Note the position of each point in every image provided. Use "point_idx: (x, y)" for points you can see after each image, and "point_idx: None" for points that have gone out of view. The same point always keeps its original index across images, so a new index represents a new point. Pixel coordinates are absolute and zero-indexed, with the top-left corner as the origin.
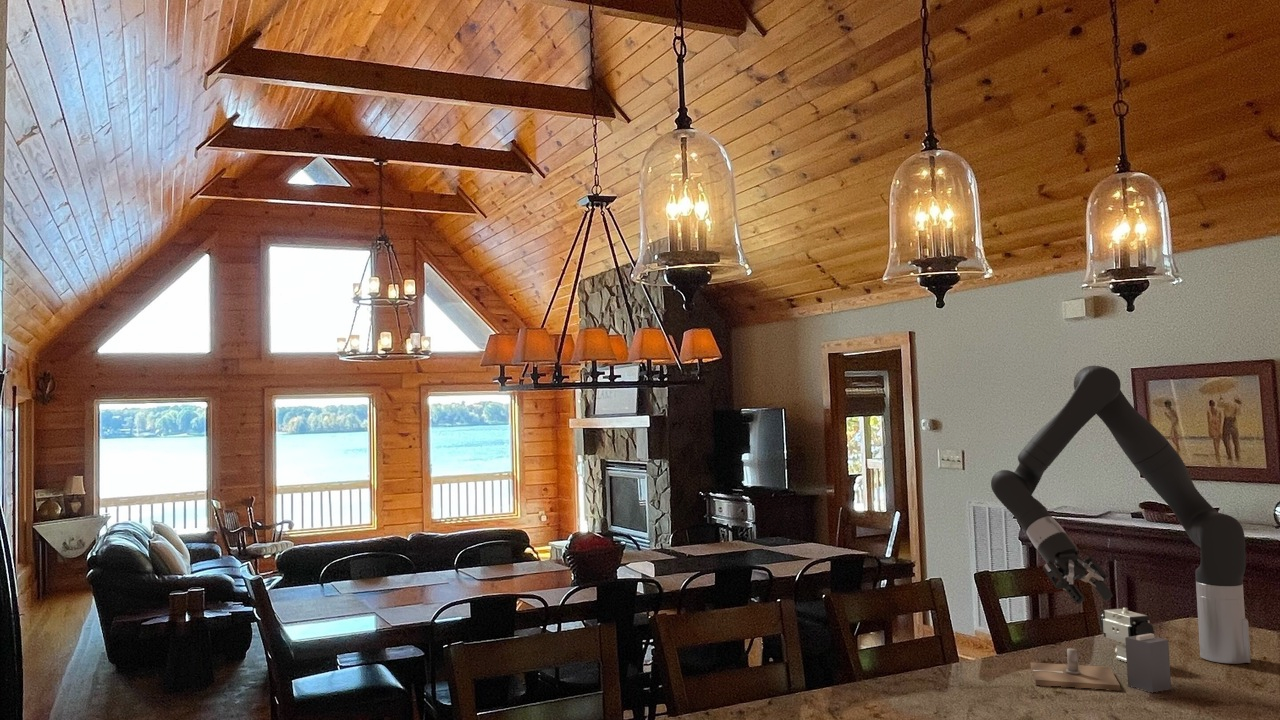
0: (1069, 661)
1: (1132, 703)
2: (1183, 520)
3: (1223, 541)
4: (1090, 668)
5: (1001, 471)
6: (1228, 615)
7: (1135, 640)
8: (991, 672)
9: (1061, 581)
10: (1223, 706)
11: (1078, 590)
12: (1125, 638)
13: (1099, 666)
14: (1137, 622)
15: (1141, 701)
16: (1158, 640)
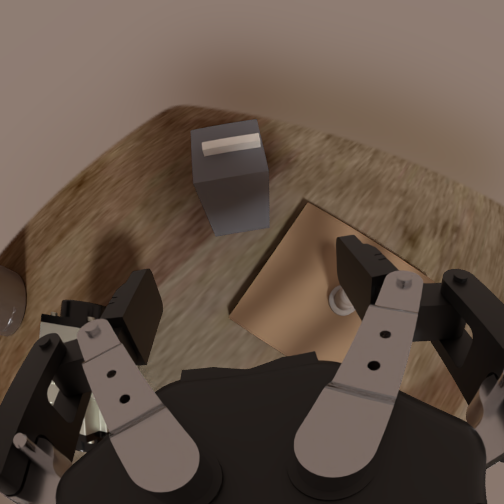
0: None
1: (331, 156)
2: None
3: None
4: (279, 321)
5: None
6: None
7: (263, 148)
8: (452, 386)
9: (468, 274)
10: (214, 117)
11: (362, 253)
12: (268, 172)
13: (246, 329)
14: (81, 318)
15: (311, 158)
16: (216, 130)
